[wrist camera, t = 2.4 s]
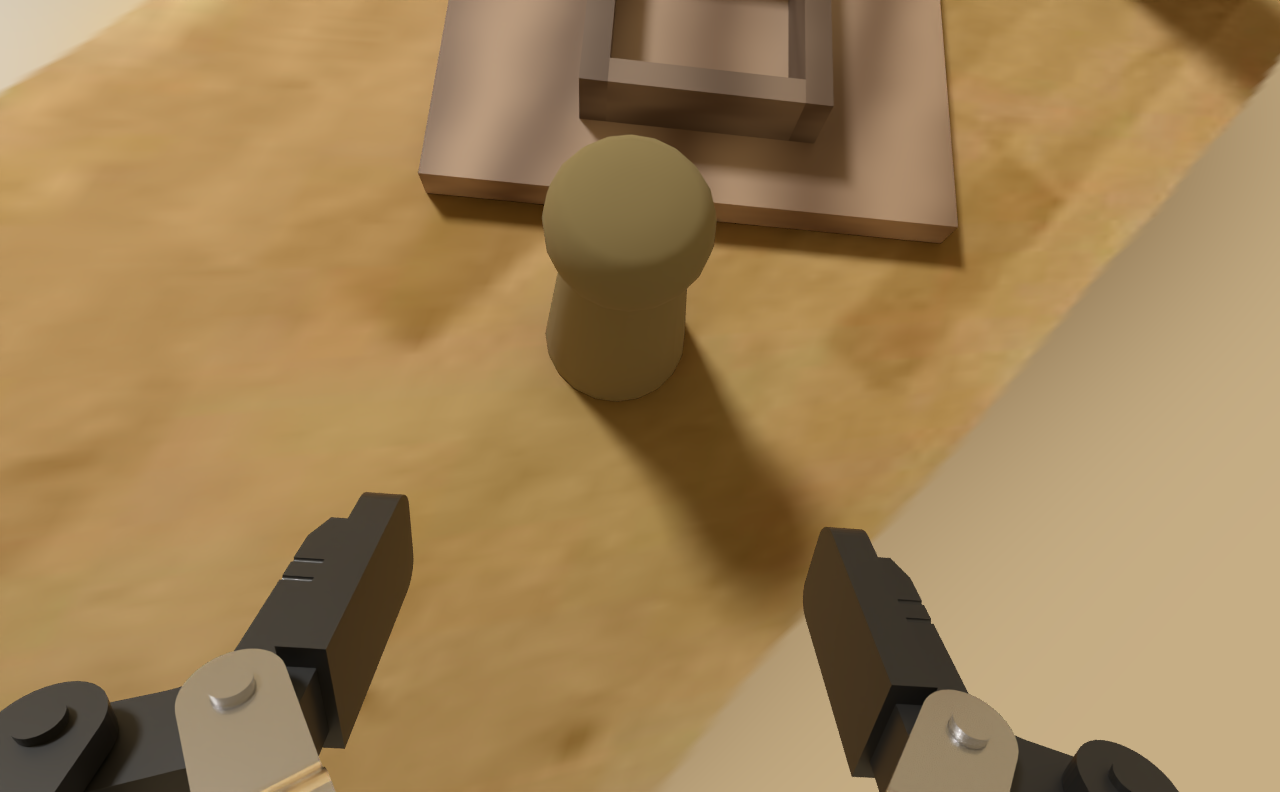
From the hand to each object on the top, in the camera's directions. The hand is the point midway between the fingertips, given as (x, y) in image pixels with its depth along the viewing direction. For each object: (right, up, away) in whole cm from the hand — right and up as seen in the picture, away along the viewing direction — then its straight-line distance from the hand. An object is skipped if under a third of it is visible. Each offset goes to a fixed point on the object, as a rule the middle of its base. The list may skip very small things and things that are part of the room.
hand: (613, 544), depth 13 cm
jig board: (+3, +20, +20) cm, 28 cm away
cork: (-1, +6, +16) cm, 17 cm away
